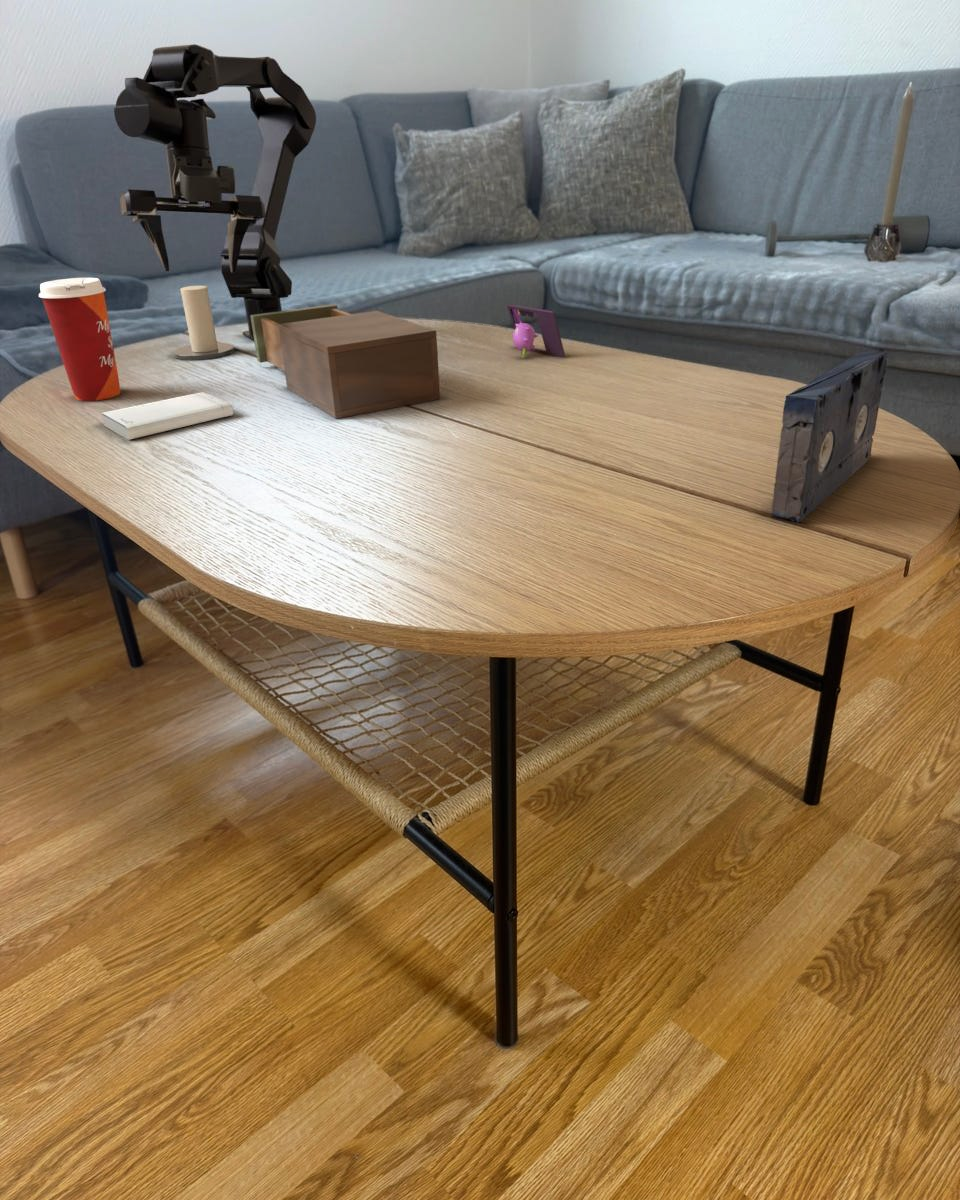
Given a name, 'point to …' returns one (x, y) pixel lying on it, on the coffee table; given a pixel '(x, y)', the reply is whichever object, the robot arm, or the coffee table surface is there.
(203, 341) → the candle
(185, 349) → the coaster
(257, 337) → the drawer
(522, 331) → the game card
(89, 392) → the paper cup
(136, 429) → the hard drive
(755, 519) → the coffee table surface
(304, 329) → the cabinet
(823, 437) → the vhs cassette tape
